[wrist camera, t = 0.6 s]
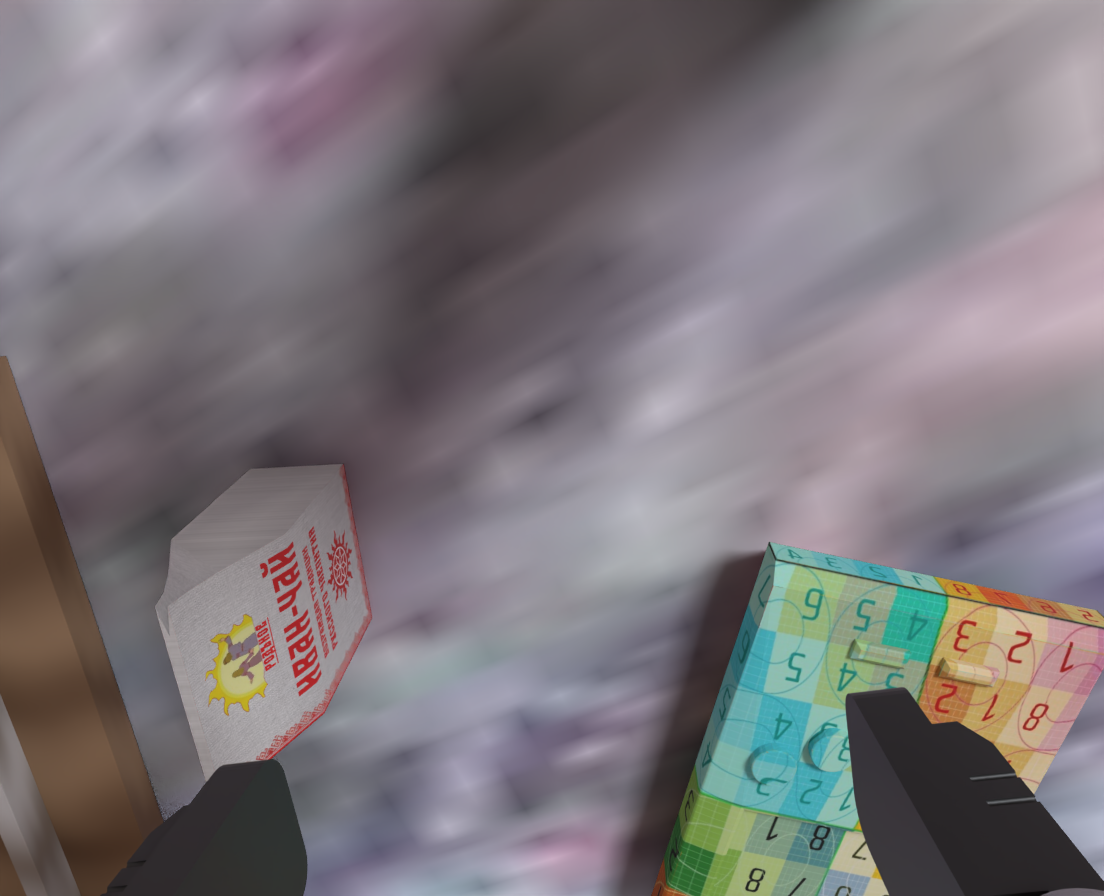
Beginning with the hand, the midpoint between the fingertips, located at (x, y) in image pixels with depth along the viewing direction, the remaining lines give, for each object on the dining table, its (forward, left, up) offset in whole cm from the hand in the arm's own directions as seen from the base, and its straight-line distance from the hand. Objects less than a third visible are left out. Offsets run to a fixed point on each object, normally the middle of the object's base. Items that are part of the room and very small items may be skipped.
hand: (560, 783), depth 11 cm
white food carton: (+5, -11, -19) cm, 23 cm away
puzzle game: (+16, +9, -19) cm, 27 cm away
